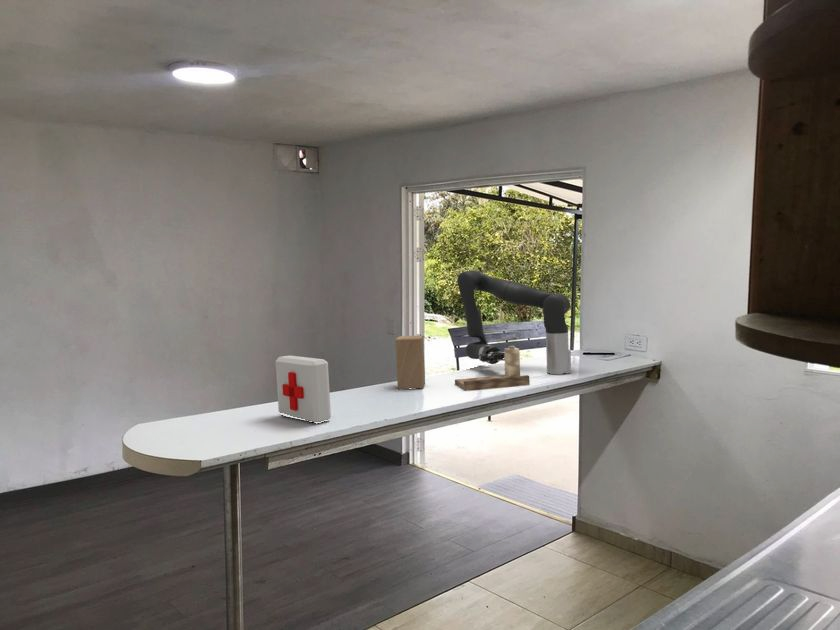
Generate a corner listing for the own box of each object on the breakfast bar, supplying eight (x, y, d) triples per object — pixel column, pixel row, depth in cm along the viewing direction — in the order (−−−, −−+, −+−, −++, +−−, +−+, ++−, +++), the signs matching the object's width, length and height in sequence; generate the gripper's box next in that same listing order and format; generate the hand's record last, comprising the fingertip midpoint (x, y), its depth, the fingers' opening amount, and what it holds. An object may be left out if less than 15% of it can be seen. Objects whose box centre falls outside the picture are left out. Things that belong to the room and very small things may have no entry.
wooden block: (425, 384, 266) (423, 335, 265) (423, 389, 256) (420, 338, 255) (400, 385, 267) (398, 336, 266) (397, 389, 257) (395, 339, 256)
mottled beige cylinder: (516, 377, 261) (514, 345, 260) (520, 379, 257) (519, 346, 256) (505, 378, 260) (504, 345, 259) (509, 380, 256) (508, 347, 255)
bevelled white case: (274, 417, 219) (270, 357, 217) (294, 412, 225) (291, 354, 223) (312, 426, 204) (308, 362, 203) (333, 421, 210) (329, 359, 208)
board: (516, 379, 269) (515, 370, 268) (529, 384, 255) (529, 375, 255) (454, 384, 263) (454, 375, 262) (465, 390, 249) (465, 381, 249)
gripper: (473, 346, 281) (486, 351, 266) (505, 344, 285) (519, 348, 269) (474, 364, 282) (486, 369, 266) (505, 361, 285) (519, 366, 269)
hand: (503, 359), depth 268 cm, fingers open, 8 cm apart
